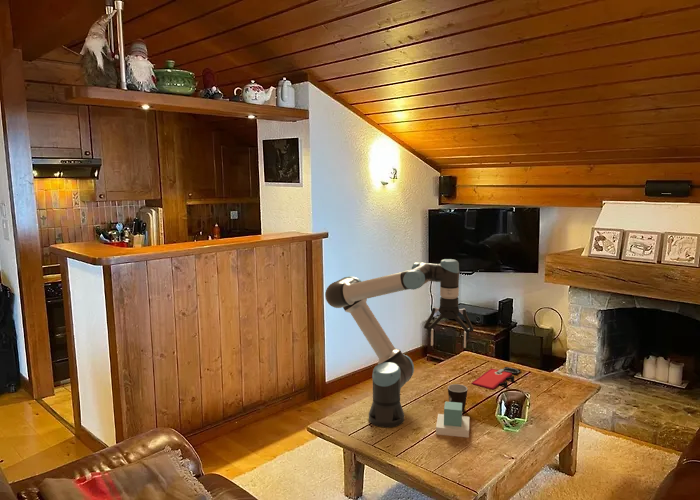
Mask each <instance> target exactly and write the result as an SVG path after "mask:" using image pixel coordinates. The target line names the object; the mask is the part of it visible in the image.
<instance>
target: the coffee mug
mask: <svg viewBox="0 0 700 500" xmlns="http://www.w3.org/2000/svg"><path fill="white" fill-rule="evenodd" d="M447 395H448V402H457V403H462V413H464V412H465V410H466V409H465V408H466V402H467V395H468V387H467V386H466V385H464V384H459V383H452V384H449V385H448V386H447Z"/></svg>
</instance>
